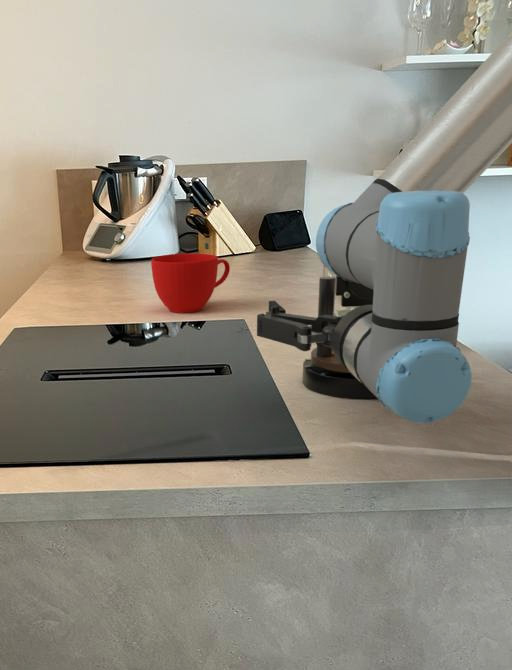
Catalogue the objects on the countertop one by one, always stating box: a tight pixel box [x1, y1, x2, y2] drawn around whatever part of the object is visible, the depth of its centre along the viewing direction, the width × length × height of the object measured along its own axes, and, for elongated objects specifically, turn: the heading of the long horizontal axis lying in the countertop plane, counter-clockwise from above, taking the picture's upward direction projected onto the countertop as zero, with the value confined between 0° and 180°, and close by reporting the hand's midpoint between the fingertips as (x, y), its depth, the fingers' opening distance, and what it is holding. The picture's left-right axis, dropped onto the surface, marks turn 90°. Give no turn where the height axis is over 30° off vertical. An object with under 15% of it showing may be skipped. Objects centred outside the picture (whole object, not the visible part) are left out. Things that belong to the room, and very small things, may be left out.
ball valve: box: [322, 265, 374, 317], centre depth 124 cm, size 18×8×18 cm, turn 177°
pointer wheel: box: [310, 276, 349, 373], centre depth 101 cm, size 13×13×11 cm
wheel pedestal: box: [302, 356, 379, 400], centre depth 104 cm, size 15×15×3 cm
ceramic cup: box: [150, 253, 231, 314], centre depth 155 cm, size 13×17×10 cm
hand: (323, 308), depth 101 cm, fingers open, 13 cm apart
